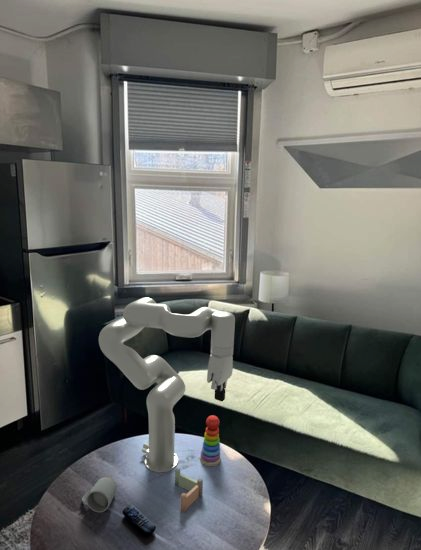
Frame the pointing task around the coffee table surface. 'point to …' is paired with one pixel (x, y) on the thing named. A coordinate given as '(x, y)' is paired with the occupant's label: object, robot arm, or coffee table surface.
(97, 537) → the coffee table surface
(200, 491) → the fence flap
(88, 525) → the coffee table surface
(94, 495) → the ceramic mug
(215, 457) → the stacking toy
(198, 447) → the coffee table surface
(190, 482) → the bar
